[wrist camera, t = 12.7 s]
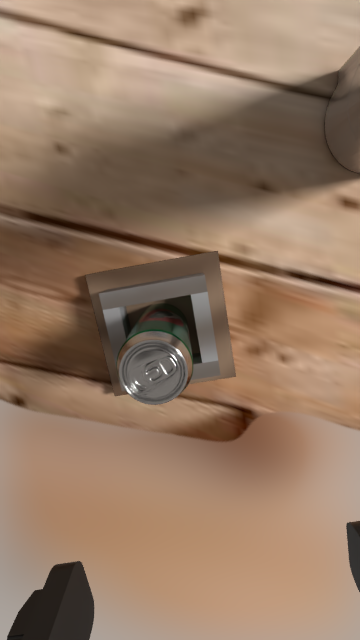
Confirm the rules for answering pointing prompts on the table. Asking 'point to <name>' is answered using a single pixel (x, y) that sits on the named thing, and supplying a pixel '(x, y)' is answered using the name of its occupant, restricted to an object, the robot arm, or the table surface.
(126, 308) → the grey hollow square frame
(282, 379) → the table surface
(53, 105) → the table surface
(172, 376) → the soda can
